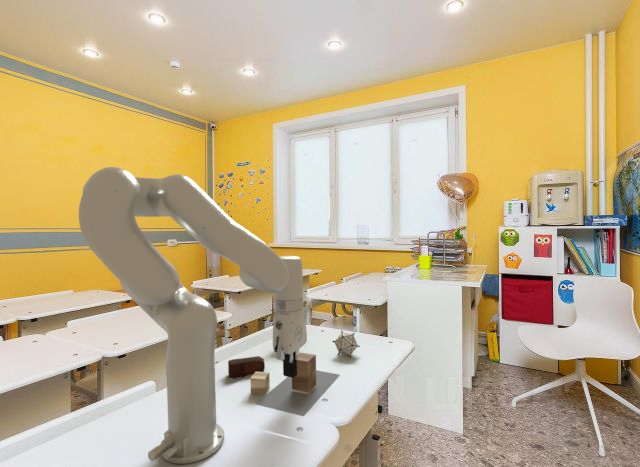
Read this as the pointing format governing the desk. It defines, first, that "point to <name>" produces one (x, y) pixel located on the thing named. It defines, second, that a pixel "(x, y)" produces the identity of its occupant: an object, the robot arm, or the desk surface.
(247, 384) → the desk surface
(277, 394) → the mat
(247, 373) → the brick
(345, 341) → the spiked icosahedron
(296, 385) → the walnut block
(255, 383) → the beech block
